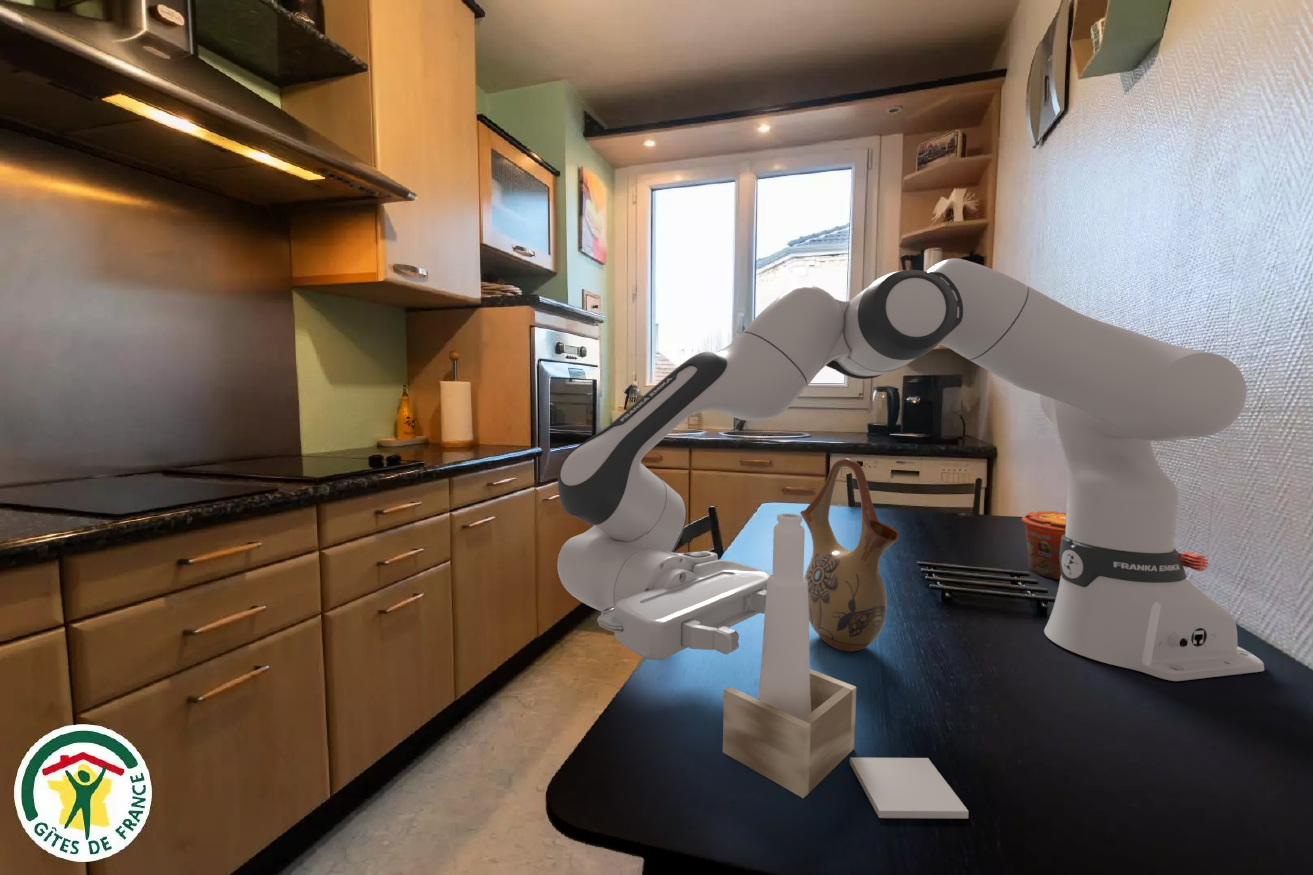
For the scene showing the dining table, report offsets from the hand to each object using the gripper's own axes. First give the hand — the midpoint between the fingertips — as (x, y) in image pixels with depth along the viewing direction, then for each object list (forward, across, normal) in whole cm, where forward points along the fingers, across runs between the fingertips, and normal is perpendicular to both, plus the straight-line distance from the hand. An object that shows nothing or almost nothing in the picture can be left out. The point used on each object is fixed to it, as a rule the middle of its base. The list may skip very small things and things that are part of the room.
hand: (763, 628), depth 53 cm
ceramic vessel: (-4, +24, +11) cm, 27 cm away
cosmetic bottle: (+2, 0, +11) cm, 11 cm away
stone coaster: (+13, +2, +11) cm, 17 cm away
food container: (+12, +85, +11) cm, 86 cm away
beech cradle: (+2, 0, +11) cm, 11 cm away
